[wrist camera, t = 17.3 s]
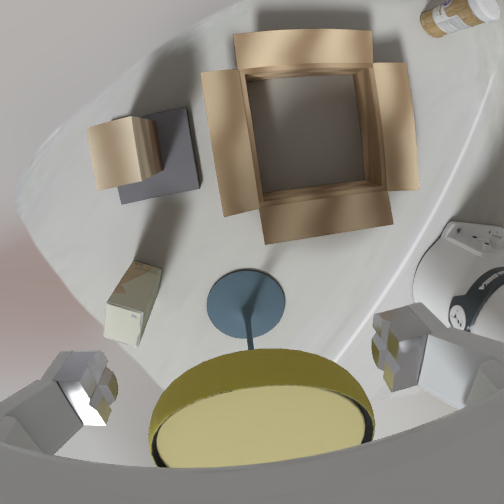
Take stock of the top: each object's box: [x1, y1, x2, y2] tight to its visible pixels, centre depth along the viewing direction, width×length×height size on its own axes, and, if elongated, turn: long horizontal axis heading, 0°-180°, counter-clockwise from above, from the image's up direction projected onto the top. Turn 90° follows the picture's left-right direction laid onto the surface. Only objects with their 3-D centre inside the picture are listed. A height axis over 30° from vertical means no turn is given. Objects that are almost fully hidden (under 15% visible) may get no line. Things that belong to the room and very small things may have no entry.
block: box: [87, 116, 164, 191], centre depth 30 cm, size 4×6×10 cm
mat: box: [118, 107, 200, 204], centre depth 36 cm, size 10×10×1 cm
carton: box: [200, 29, 419, 245], centre depth 33 cm, size 23×23×6 cm
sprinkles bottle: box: [421, 0, 500, 38], centre depth 25 cm, size 5×5×13 cm
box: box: [104, 261, 162, 347], centre depth 36 cm, size 5×4×11 cm
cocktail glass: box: [149, 270, 375, 468], centre depth 32 cm, size 18×18×25 cm
